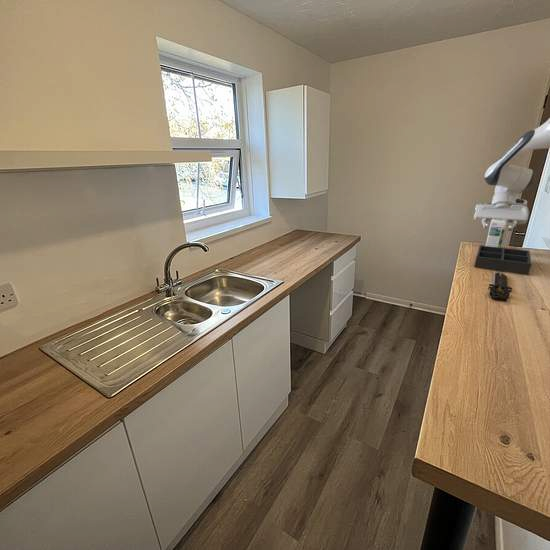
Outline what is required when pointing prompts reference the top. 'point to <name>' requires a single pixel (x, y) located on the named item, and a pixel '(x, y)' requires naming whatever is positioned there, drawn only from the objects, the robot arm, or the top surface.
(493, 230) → the syrup box
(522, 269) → the tray
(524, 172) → the robot arm
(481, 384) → the top surface
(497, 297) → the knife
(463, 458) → the top surface
